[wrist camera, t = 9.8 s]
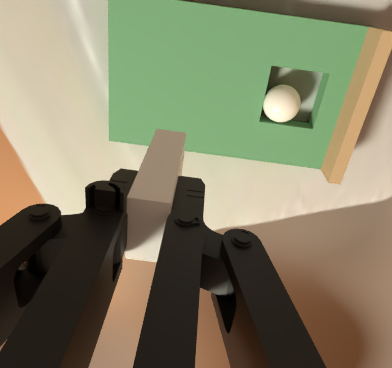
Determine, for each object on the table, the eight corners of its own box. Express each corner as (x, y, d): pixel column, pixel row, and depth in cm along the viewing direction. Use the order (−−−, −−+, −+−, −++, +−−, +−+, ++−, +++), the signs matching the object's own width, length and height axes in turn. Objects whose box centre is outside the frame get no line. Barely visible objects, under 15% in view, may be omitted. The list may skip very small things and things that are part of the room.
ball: (264, 113, 37) (256, 122, 34) (270, 79, 35) (262, 85, 32) (298, 120, 36) (293, 129, 33) (306, 85, 34) (302, 91, 31)
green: (113, 133, 38) (100, 152, 34) (114, -10, 31) (97, -10, 27) (326, 162, 38) (340, 184, 34) (373, 26, 32) (397, 32, 27)
